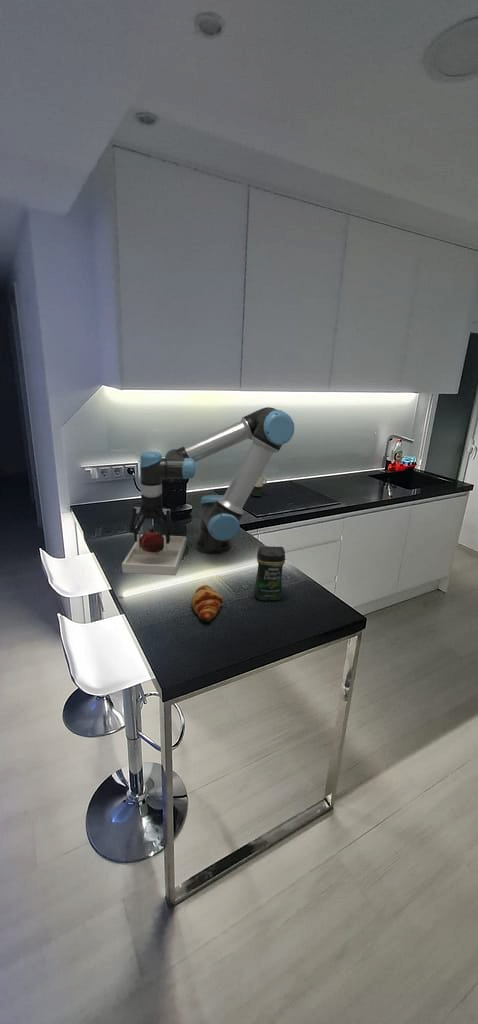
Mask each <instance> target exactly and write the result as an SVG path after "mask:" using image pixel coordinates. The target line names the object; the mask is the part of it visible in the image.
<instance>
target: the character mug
mask: <svg viewBox="0 0 478 1024" xmlns="http://www.w3.org/2000/svg"><path fill="white" fill-rule="evenodd" d="M267 482H268V481H267V478H265V475H263V474H261V475H260V477H259V479H258V481H257V483H256V484H255V486H254V488H253V490H252V491H251V494H252V495H253V496H252V495H251V496H252V497H254V496H260V497H262V495H263V491H262V487H263V486H264V485H267Z"/></svg>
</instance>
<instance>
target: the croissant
mask: <svg viewBox="0 0 478 1024" xmlns="http://www.w3.org/2000/svg"><path fill="white" fill-rule="evenodd" d="M190 603H191V605H192V609H193V611H194V613H195V614H196V615H197V616H198V618H199V619H201V620H202V621H204V622H210V621H211V620H212V619H214V618H215V617H216V616H217V614H218V612H219V611H220V609H221V608H220V607H221V605H222V604H223V597H222V596H221V595H220V594H219V593H218V592H217V591H216V590H214V589H213V588H212V587H211V586H209V585H208V584H204V585H202V586H199V587H198V588H197V589H195V593H194V594H193V595H192V597H191V600H190Z"/></svg>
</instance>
